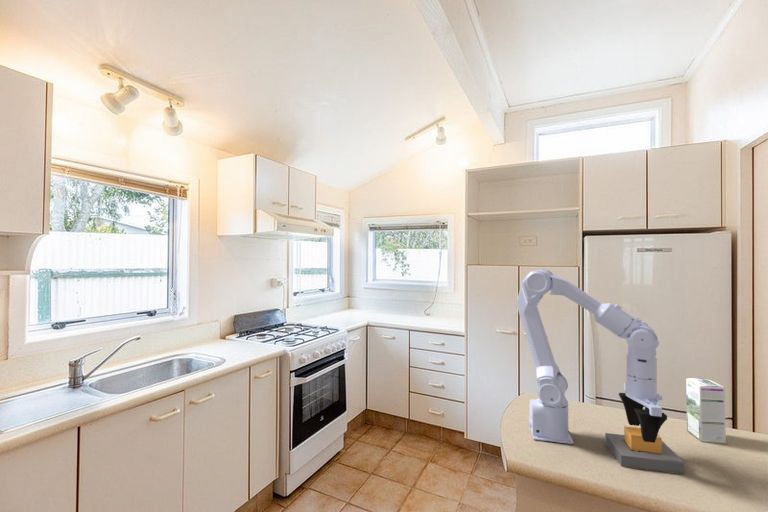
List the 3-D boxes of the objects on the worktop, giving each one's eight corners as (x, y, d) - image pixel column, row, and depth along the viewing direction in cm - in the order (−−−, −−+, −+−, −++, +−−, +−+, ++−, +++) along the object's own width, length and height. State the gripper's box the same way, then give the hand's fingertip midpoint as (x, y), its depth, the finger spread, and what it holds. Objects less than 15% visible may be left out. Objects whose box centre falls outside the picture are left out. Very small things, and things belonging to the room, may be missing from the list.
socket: (621, 466, 79) (621, 452, 79) (605, 442, 89) (605, 430, 89) (683, 474, 76) (683, 460, 76) (660, 448, 86) (660, 436, 86)
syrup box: (727, 444, 87) (727, 386, 87) (699, 441, 89) (699, 385, 88) (710, 432, 93) (710, 378, 93) (685, 430, 94) (685, 377, 94)
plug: (631, 458, 81) (631, 434, 81) (624, 448, 85) (624, 426, 85) (661, 462, 80) (661, 438, 79) (653, 452, 83) (653, 429, 83)
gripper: (678, 389, 74) (678, 452, 74) (646, 366, 88) (646, 420, 88) (640, 385, 76) (640, 447, 76) (614, 364, 90) (614, 416, 90)
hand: (641, 432), depth 82 cm, fingers open, 7 cm apart
